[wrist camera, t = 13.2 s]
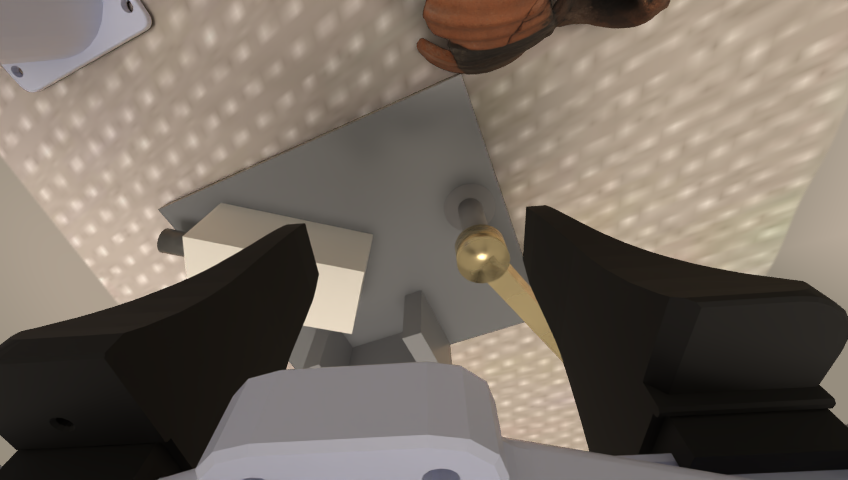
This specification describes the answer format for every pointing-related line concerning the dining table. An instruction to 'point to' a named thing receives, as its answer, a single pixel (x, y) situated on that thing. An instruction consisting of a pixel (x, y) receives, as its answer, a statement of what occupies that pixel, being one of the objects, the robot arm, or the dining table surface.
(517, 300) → the brass ball-knob lever
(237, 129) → the dining table surface
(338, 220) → the socket
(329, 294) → the plug
